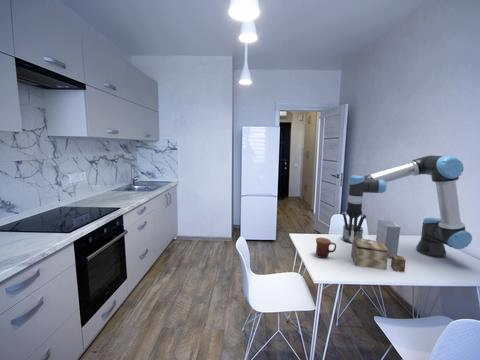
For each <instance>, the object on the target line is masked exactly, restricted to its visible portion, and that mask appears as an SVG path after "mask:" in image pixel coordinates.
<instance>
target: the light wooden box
mask: <svg viewBox="0 0 480 360" xmlns="http://www.w3.org/2000/svg"><path fill="white" fill-rule="evenodd" d="M350 253H351V254H350V257H351V259H352V261H353V264H354V265H355V266H357V267H365V268H372V269H381V270H388V269H387V268H388V260H389V257H388V254H389V252H385V251H380V250H374V249H369V248H363V247H358V246H357V245H356V244H355V242H354V241H353V242H352V243H351V251H350Z"/></svg>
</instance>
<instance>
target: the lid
mask: <svg viewBox="0 0 480 360" xmlns="http://www.w3.org/2000/svg"><path fill="white" fill-rule="evenodd" d="M353 240H354V242H355V244H356V245H357V246H358V247H363V248H369V249H374V250H380V251H385V252H388V251H389V250H388V249H387V248H386V247H385V246H384V244H383V243H382V242H379V241H376V240H372V239H365V238H362V239H361V238H356V237H354V239H353Z"/></svg>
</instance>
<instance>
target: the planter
mask: <svg viewBox="0 0 480 360" xmlns="http://www.w3.org/2000/svg"><path fill="white" fill-rule="evenodd" d="M347 224H348V227H349V223H347ZM353 226H354V223H352V230H353ZM357 226H358V224H357ZM348 231H349V230H347V229H346V228H345V224H344V225H343V229H342V239H343V240H344V241H345V242H349V243H351V244H352V242H350V236H349V235H348ZM363 233H364V227H362V226H361V228H360V231H357V232H356V236H354V237H356V238H361V239H363V235H364V234H363ZM353 241H354V240H353Z"/></svg>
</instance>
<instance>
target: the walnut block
mask: <svg viewBox="0 0 480 360" xmlns="http://www.w3.org/2000/svg"><path fill="white" fill-rule="evenodd" d="M390 259H391V260H390V267H391V269H392V270H393V271H395V272H401V273H405V268H406V261H407V260H406V259H405V257H404V256H402V255H398V254H397V255H392V258H390Z"/></svg>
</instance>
